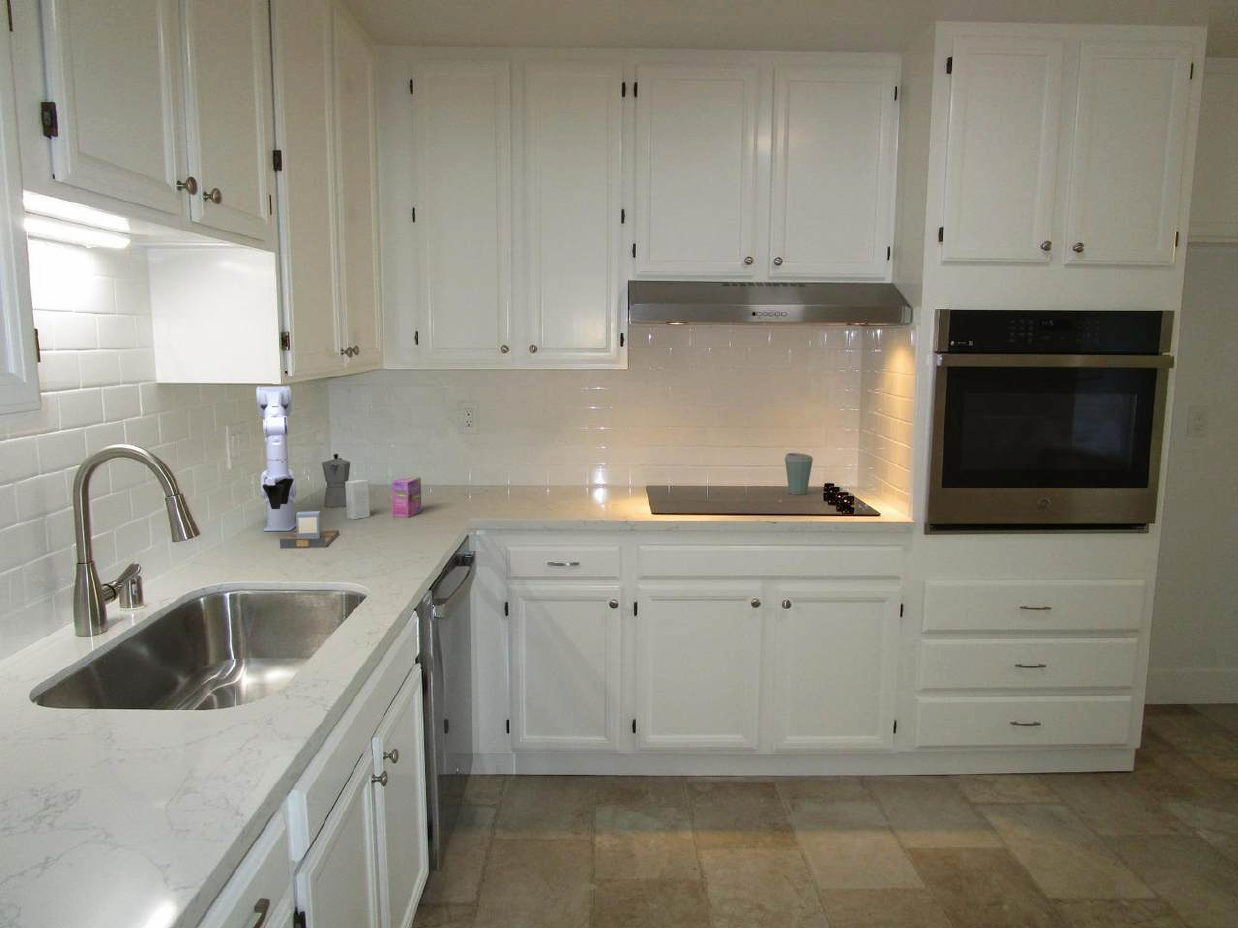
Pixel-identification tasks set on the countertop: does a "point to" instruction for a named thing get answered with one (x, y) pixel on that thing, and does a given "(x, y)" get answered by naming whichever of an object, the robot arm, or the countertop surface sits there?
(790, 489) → the disposable coffee cup
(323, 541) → the price rail
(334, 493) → the coffeepot
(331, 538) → the shelf board
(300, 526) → the carton
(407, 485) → the box
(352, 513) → the skincare box
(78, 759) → the countertop surface
